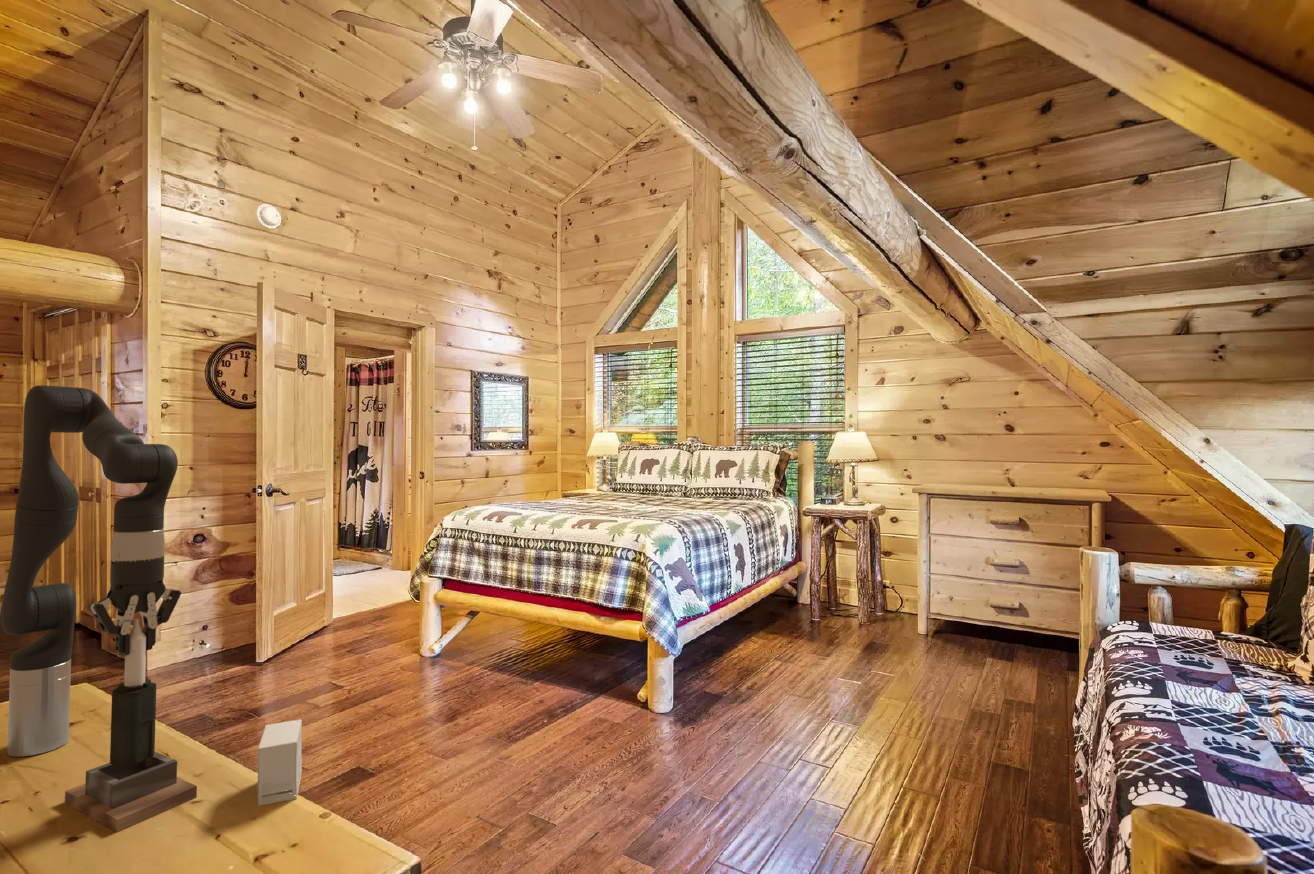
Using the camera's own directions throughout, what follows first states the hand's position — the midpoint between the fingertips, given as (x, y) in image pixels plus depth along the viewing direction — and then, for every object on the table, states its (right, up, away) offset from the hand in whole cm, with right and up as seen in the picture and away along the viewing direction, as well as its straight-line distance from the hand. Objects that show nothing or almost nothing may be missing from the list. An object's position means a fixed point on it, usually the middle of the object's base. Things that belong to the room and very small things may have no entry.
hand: (135, 651), depth 116 cm
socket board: (0, -26, 0) cm, 26 cm away
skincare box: (+23, -27, +4) cm, 36 cm away
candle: (0, -19, 0) cm, 19 cm away
